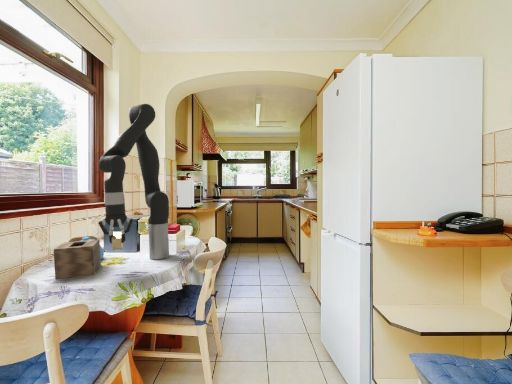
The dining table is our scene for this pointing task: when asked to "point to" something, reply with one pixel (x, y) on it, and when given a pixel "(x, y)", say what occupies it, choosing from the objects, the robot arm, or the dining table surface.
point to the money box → (77, 258)
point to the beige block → (117, 241)
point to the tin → (81, 238)
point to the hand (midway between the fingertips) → (117, 242)
